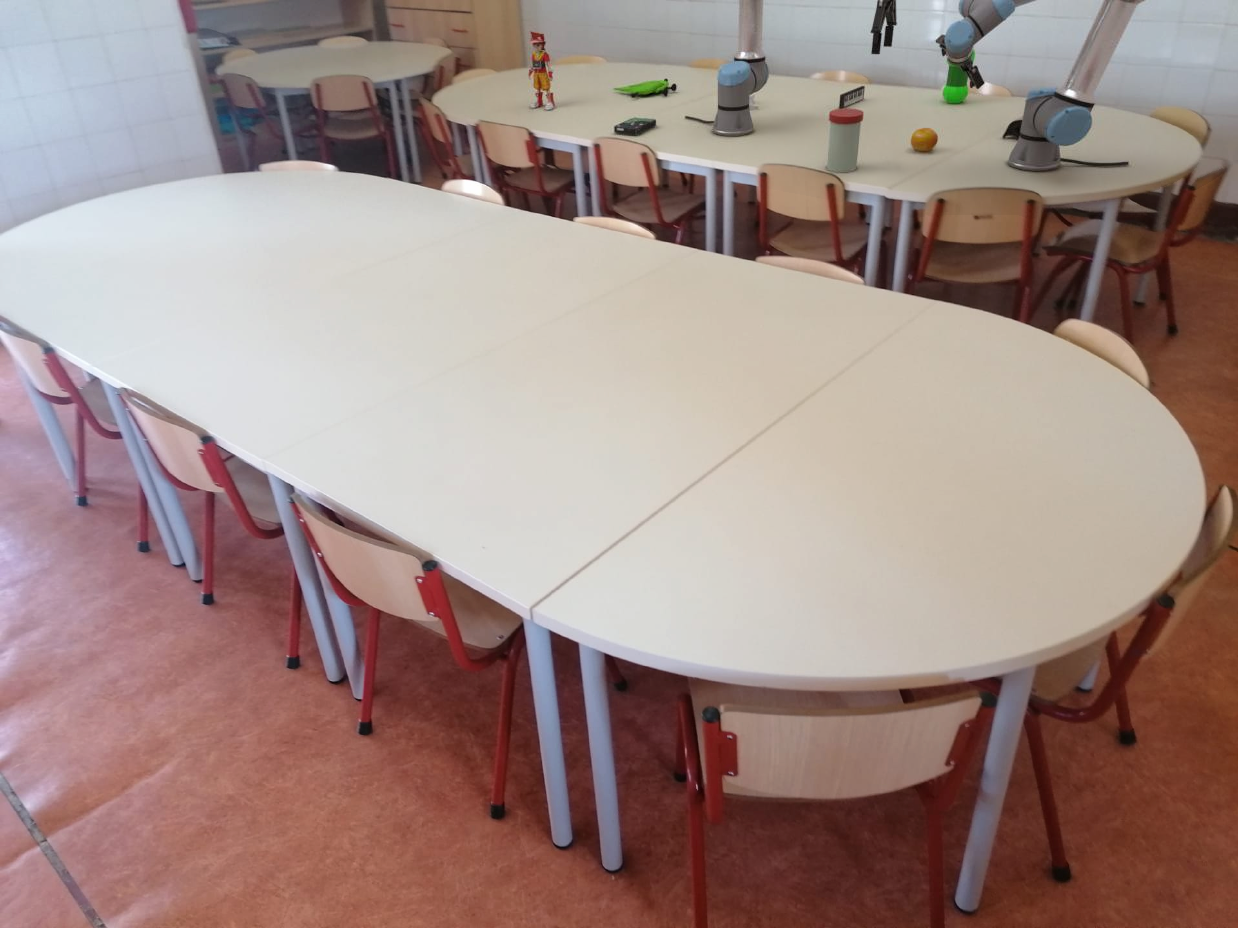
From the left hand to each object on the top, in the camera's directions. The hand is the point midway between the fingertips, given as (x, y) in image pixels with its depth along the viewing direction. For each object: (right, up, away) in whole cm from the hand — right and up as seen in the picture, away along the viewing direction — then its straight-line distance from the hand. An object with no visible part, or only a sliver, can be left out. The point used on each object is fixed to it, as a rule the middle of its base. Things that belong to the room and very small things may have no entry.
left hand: (881, 50), depth 308 cm
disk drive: (-84, -14, +37) cm, 93 cm away
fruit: (+13, -36, -4) cm, 38 cm away
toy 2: (-81, +22, +89) cm, 122 cm away
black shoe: (+57, -24, +9) cm, 62 cm away
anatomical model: (-40, +4, +59) cm, 71 cm away
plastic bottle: (+42, +1, +47) cm, 63 cm away
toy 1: (-123, +10, +75) cm, 144 cm away
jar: (-17, -45, -15) cm, 51 cm away
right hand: (+17, -18, -27) cm, 37 cm away
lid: (-18, -31, -24) cm, 44 cm away
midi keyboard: (+3, +3, +53) cm, 53 cm away
